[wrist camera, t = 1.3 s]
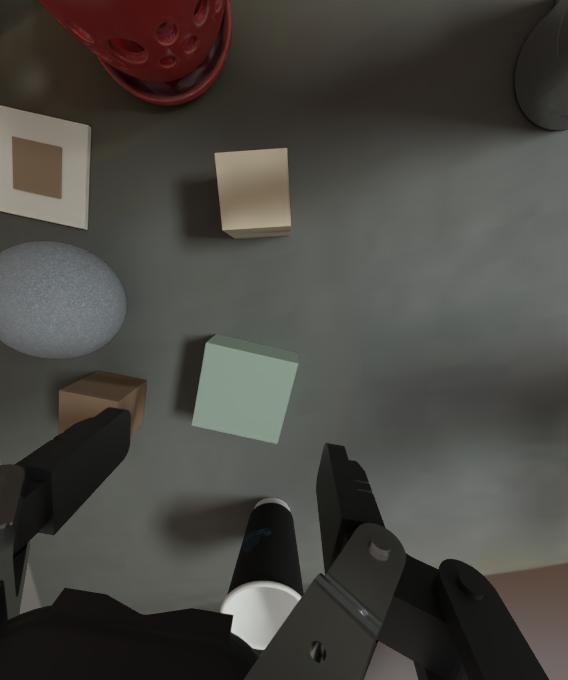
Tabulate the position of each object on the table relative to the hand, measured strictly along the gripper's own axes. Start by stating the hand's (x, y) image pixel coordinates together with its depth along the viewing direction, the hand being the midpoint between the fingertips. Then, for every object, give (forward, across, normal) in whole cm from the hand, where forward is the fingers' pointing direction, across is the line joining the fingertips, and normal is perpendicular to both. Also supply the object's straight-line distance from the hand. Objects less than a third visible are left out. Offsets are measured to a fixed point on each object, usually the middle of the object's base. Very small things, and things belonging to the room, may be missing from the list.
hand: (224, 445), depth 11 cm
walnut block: (+19, +16, +10) cm, 26 cm away
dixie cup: (+19, -4, +22) cm, 30 cm away
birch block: (+19, +3, -13) cm, 23 cm away
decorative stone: (+19, +18, -2) cm, 26 cm away
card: (+18, +24, -13) cm, 33 cm away
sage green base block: (+19, +1, +5) cm, 20 cm away
